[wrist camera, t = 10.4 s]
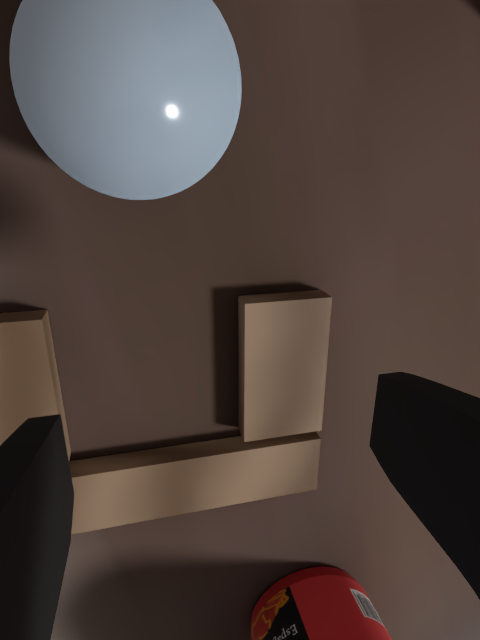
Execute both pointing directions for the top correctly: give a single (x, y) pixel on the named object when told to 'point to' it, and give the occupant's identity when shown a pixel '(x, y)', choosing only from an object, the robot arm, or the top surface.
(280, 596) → the canned food
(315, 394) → the brown wooden panels
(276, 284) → the top surface
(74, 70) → the grey round flask
